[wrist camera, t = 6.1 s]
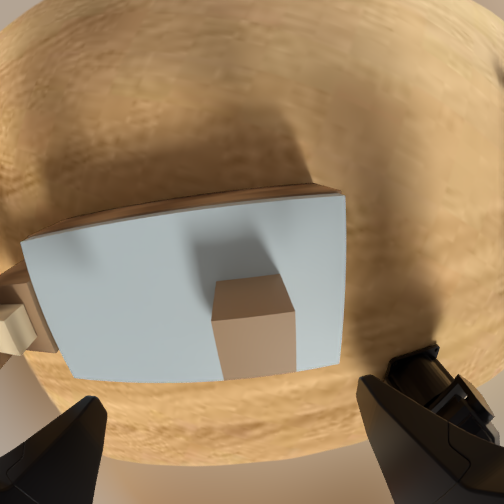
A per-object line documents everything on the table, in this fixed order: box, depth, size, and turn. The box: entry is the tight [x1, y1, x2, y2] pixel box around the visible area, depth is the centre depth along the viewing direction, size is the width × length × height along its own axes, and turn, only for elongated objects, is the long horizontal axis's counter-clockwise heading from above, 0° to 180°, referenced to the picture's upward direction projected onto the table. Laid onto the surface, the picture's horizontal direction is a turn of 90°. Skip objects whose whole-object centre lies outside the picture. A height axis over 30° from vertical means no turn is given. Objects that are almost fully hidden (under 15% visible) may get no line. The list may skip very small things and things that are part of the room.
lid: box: [20, 193, 346, 383], centre depth 12 cm, size 18×10×4 cm, turn 96°
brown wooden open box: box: [0, 183, 341, 369], centre depth 14 cm, size 24×10×10 cm, turn 96°
